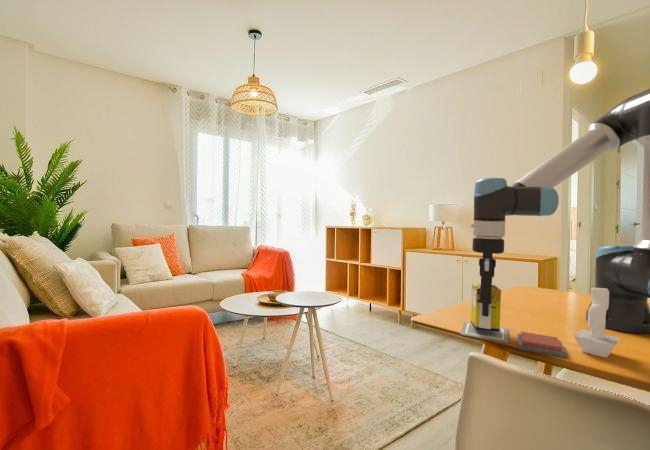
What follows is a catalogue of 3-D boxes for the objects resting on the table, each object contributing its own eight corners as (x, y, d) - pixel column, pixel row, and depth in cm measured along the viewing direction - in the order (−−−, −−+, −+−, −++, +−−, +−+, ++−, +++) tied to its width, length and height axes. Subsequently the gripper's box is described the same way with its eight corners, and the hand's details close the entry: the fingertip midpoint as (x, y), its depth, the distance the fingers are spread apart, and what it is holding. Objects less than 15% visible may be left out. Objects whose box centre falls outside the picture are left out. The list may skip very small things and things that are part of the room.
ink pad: (559, 345, 82) (560, 337, 82) (565, 357, 75) (566, 348, 74) (517, 338, 86) (517, 330, 86) (518, 349, 79) (519, 340, 79)
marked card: (507, 329, 92) (507, 328, 92) (508, 343, 82) (508, 341, 82) (464, 323, 97) (464, 321, 97) (460, 335, 87) (460, 333, 87)
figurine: (572, 352, 77) (575, 287, 77) (582, 342, 84) (585, 282, 83) (613, 363, 72) (616, 294, 71) (620, 352, 78) (623, 288, 78)
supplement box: (500, 332, 86) (501, 289, 86) (475, 330, 87) (476, 288, 87) (493, 324, 92) (495, 284, 91) (470, 322, 93) (471, 283, 93)
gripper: (475, 234, 99) (472, 312, 100) (470, 239, 82) (466, 332, 82) (503, 236, 96) (500, 316, 97) (505, 240, 78) (501, 338, 79)
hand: (485, 323), depth 90 cm, fingers closed on supplement box, 7 cm apart
